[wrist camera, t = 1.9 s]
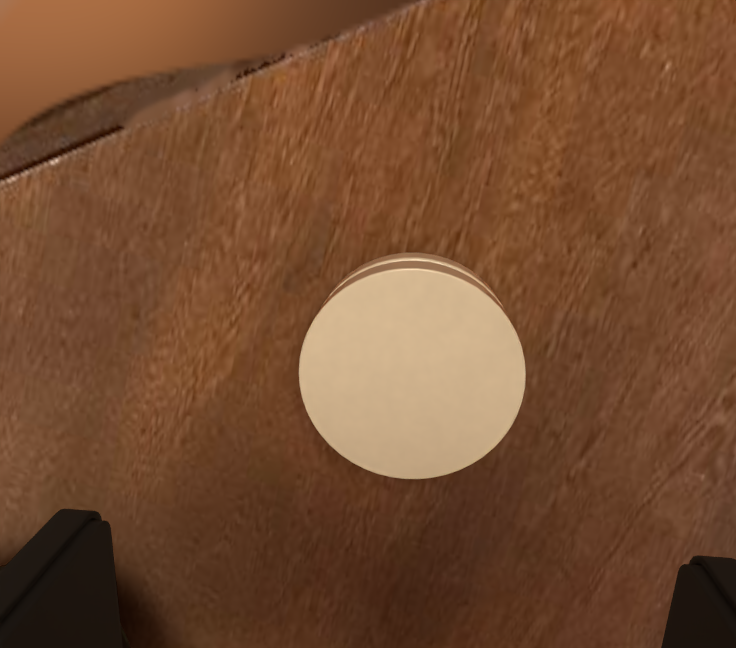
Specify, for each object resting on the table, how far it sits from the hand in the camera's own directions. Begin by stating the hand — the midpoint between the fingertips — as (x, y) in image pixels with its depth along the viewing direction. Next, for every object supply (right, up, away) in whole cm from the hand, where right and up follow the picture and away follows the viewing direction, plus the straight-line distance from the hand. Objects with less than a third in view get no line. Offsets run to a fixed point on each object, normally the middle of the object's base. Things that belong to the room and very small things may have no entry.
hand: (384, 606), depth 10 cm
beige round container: (+1, +4, +11) cm, 12 cm away
